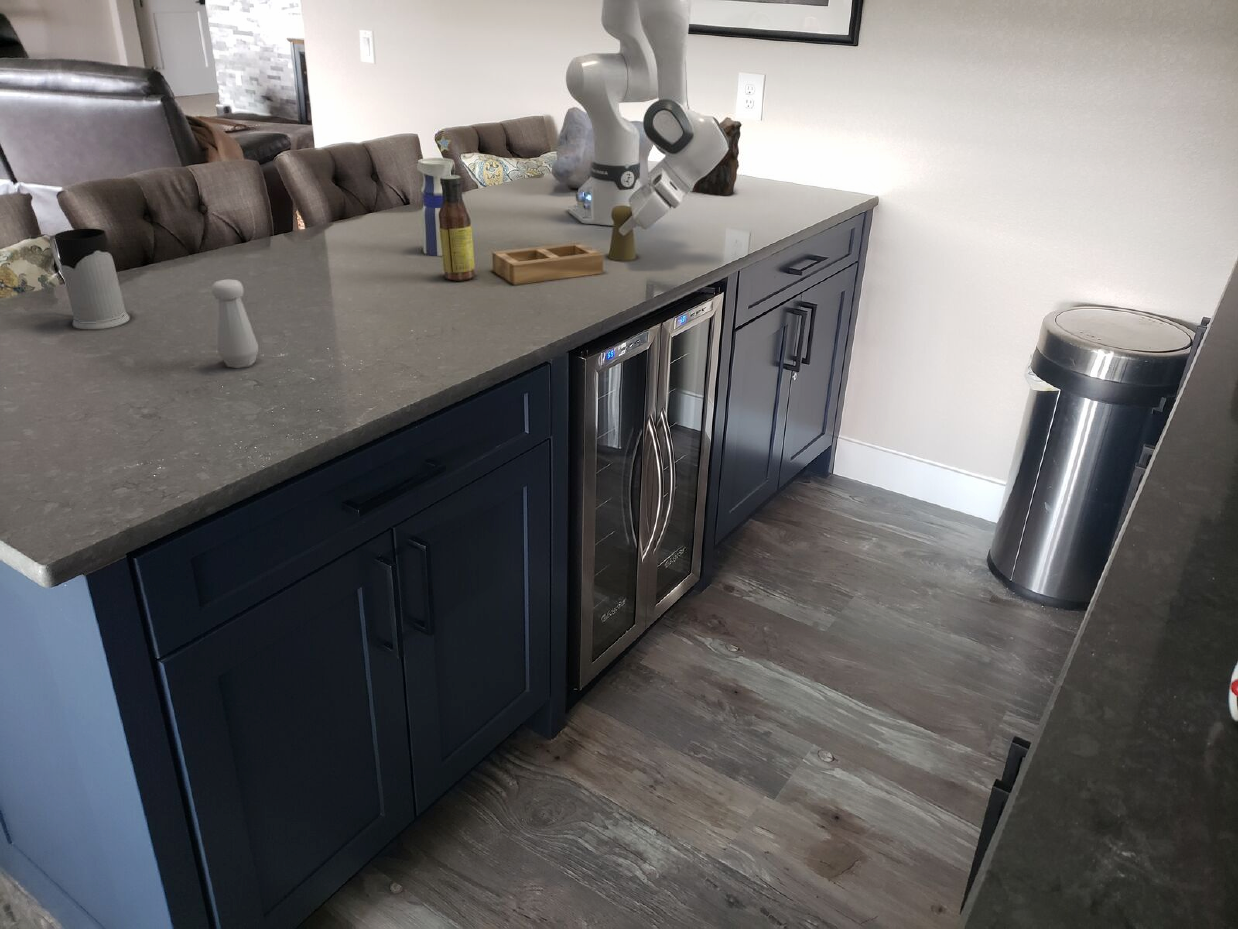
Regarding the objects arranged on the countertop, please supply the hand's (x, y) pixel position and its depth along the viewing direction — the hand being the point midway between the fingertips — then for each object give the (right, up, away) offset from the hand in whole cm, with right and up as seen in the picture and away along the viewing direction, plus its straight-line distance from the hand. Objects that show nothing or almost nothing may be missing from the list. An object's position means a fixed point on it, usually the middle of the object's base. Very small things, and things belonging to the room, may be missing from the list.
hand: (619, 229), depth 202 cm
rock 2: (+28, +29, +71) cm, 81 cm away
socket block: (-15, -11, -9) cm, 21 cm away
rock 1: (-5, +30, +71) cm, 78 cm away
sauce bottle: (-33, -13, -14) cm, 38 cm away
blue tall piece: (-39, -4, +4) cm, 40 cm away
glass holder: (-92, -26, -41) cm, 104 cm away
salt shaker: (-59, -36, -58) cm, 90 cm away
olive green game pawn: (0, -5, +3) cm, 6 cm away
